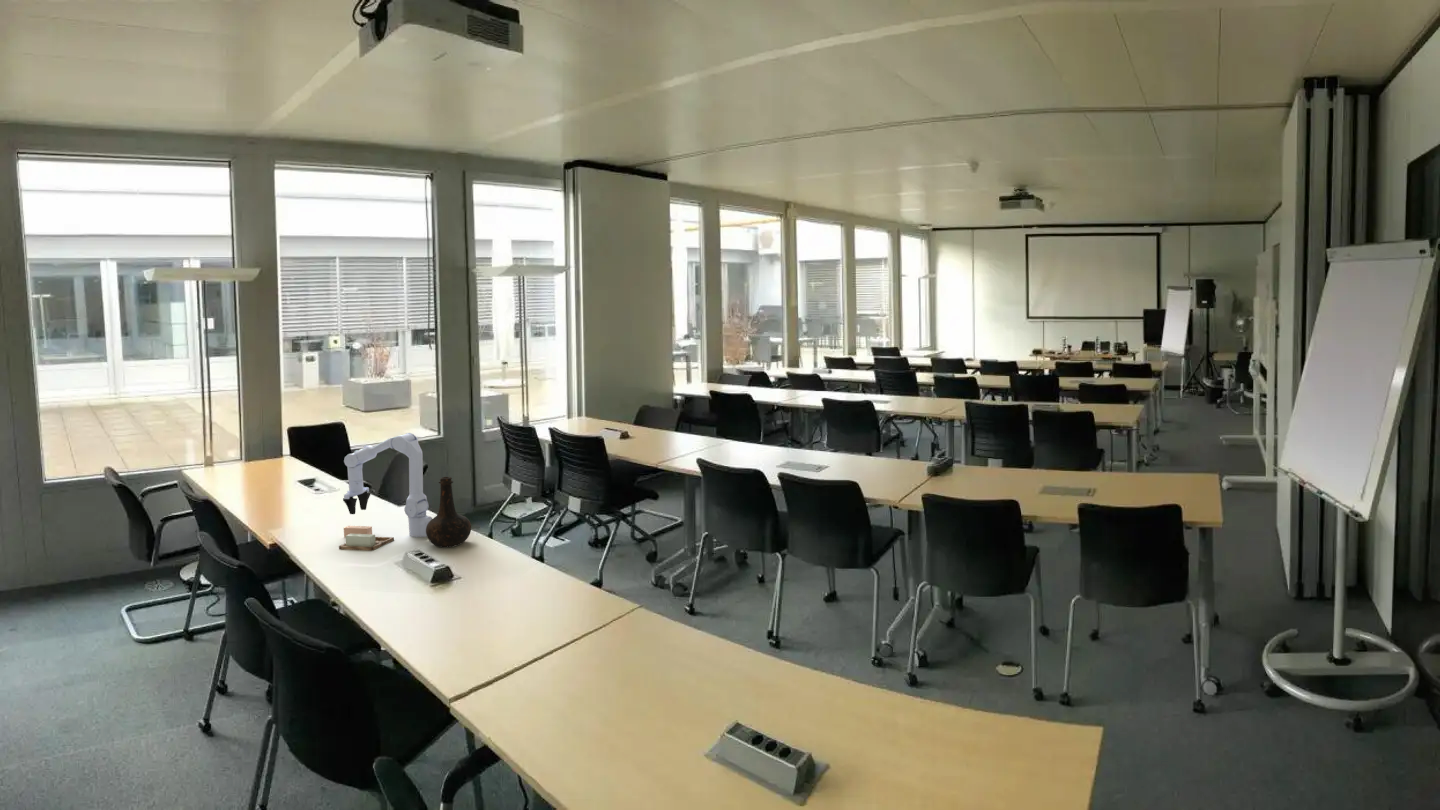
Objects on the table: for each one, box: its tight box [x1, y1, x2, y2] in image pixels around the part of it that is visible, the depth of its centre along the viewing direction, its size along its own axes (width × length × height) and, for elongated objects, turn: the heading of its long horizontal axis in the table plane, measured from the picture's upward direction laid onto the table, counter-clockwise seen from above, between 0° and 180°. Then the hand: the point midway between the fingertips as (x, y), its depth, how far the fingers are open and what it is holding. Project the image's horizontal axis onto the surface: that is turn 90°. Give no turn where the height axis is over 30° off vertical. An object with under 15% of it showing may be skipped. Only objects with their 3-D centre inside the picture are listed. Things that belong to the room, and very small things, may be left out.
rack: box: [338, 536, 395, 551], centre depth 349 cm, size 15×15×2 cm
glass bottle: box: [426, 476, 472, 548], centre depth 347 cm, size 18×18×28 cm
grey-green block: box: [344, 533, 376, 547], centre depth 345 cm, size 11×4×5 cm, turn 78°
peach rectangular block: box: [343, 525, 373, 538], centre depth 362 cm, size 11×4×5 cm, turn 79°
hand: (358, 511), depth 366 cm, fingers open, 7 cm apart
